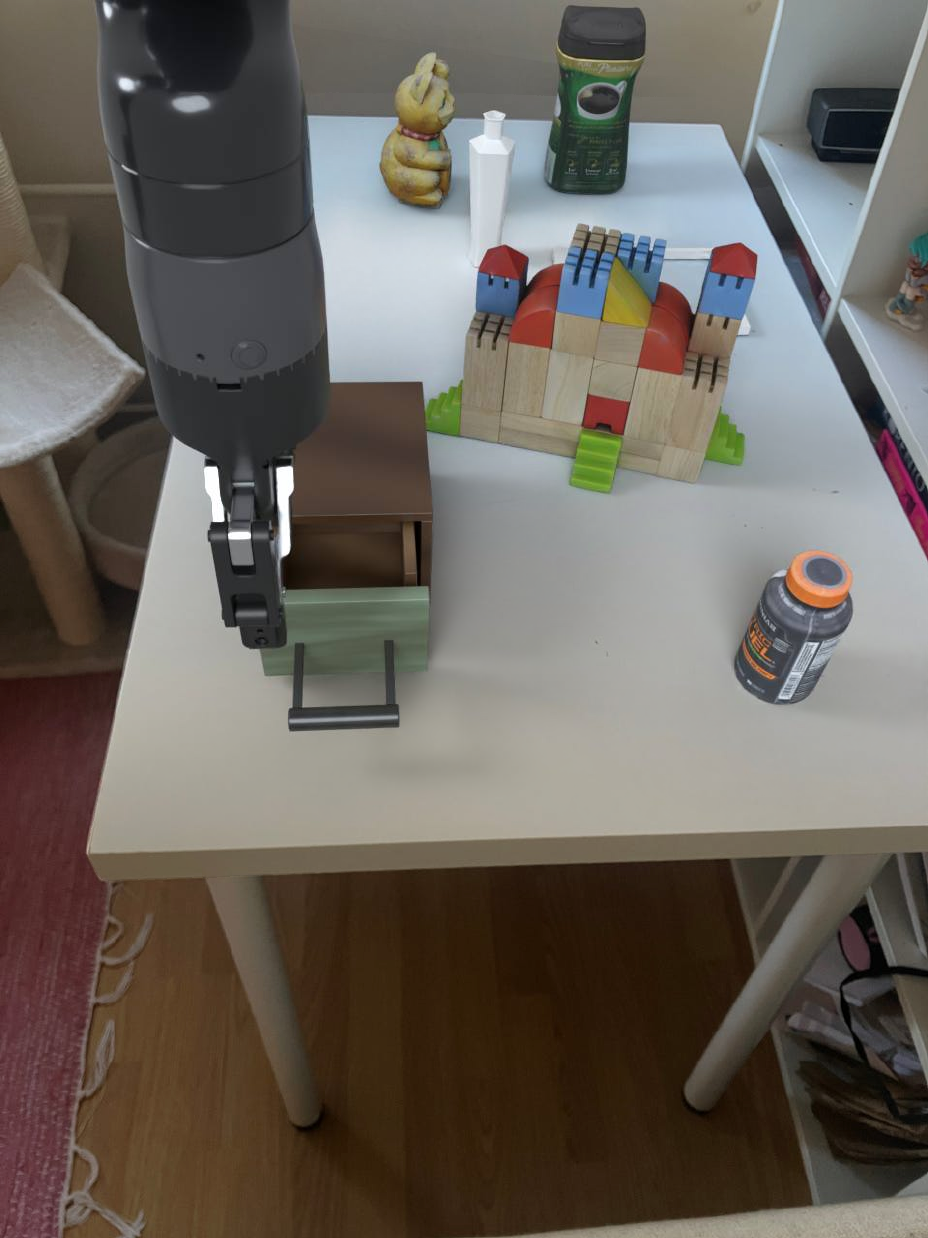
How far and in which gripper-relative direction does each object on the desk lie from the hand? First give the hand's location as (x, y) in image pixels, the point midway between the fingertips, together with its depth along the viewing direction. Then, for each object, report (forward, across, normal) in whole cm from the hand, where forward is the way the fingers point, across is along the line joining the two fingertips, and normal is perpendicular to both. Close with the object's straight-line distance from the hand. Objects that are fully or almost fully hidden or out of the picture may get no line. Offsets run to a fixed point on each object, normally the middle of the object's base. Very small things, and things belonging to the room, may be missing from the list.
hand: (269, 579), depth 53 cm
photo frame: (+18, -54, +35) cm, 67 cm away
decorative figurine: (+18, -74, +12) cm, 78 cm away
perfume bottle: (+18, -62, +19) cm, 67 cm away
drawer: (+17, -10, +4) cm, 20 cm away
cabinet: (+18, -20, +4) cm, 27 cm away
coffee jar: (+18, -78, +32) cm, 86 cm away
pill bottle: (+18, -5, +35) cm, 39 cm away
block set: (+18, -32, +25) cm, 45 cm away
